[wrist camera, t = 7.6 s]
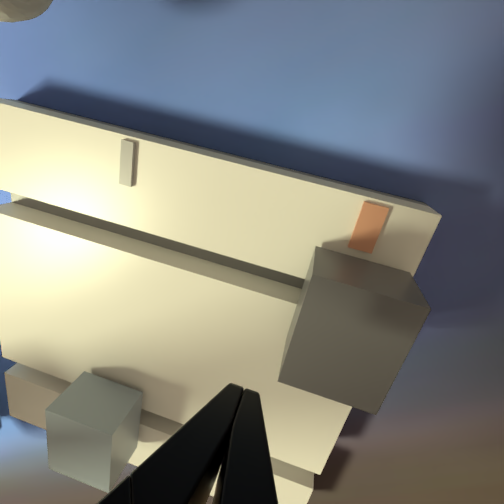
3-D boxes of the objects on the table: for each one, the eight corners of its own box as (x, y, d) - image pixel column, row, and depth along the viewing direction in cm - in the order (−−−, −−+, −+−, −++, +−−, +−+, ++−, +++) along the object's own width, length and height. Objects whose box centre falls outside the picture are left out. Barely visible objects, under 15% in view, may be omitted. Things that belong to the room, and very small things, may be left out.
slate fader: (100, 406, 23) (48, 468, 19) (102, 353, 21) (45, 409, 17) (150, 425, 23) (108, 493, 18) (156, 372, 21) (112, 435, 17)
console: (37, 390, 26) (7, 417, 24) (15, 99, 17) (-36, 94, 15) (298, 489, 23) (294, 532, 21) (424, 202, 15) (443, 217, 12)
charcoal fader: (290, 319, 17) (277, 381, 13) (316, 234, 15) (312, 274, 11) (363, 342, 17) (376, 415, 12) (401, 257, 15) (431, 309, 10)
